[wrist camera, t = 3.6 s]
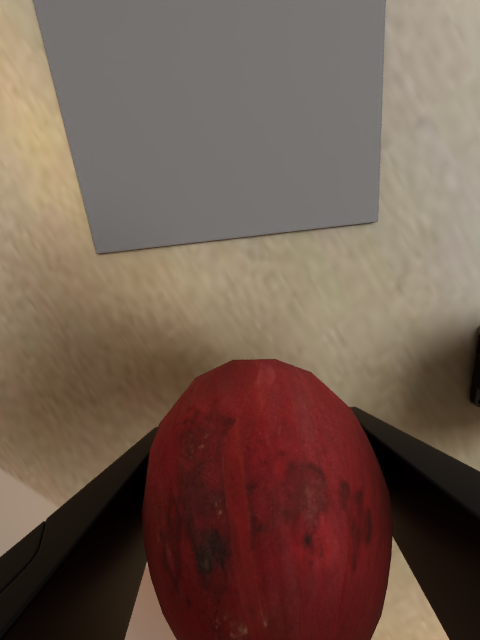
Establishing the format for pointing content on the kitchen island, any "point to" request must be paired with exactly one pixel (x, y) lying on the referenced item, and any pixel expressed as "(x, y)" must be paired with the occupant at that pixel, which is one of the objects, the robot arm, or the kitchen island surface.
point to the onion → (266, 510)
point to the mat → (218, 115)
